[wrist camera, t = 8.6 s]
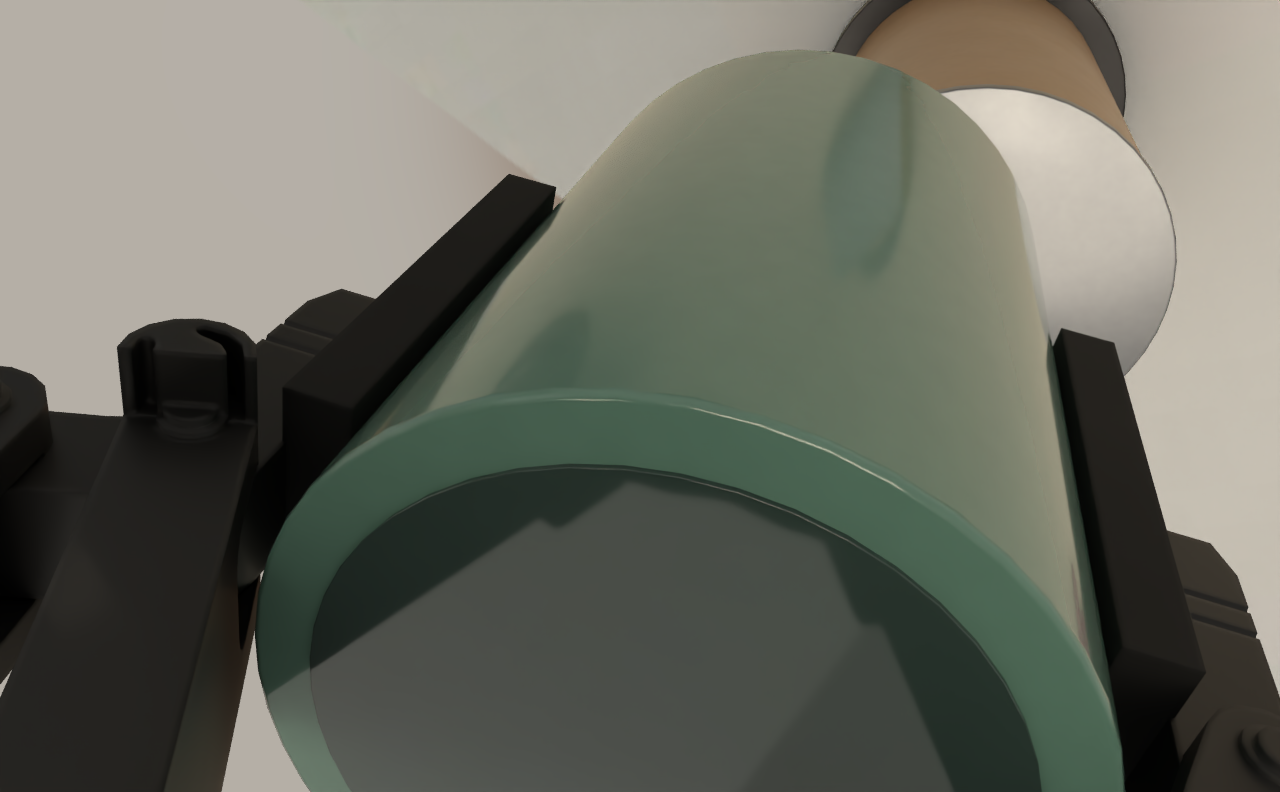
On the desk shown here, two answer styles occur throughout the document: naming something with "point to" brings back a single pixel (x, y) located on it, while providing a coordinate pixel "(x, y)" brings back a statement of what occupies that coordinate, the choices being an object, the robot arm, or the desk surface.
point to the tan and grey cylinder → (1048, 145)
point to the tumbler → (718, 484)
